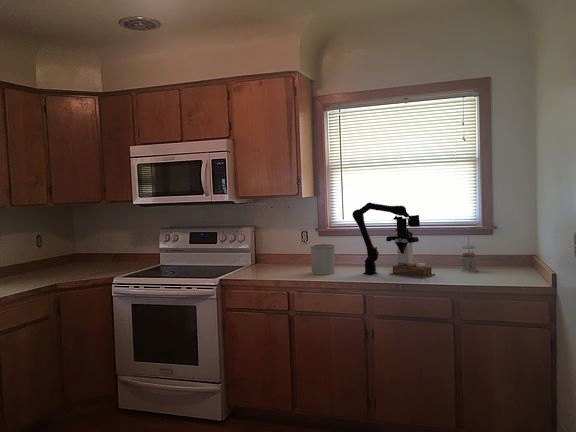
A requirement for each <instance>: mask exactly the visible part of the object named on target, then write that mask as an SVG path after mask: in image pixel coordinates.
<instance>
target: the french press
mask: <svg viewBox="0 0 576 432" xmlns="http://www.w3.org/2000/svg"><path fill="white" fill-rule="evenodd" d="M470 230H471V228H470V227H468V228H466V231H467V234H468V235H467V236H468V237H467V239H468V241H467V242H468V244H464V245H462V246H461V249H465V250H468V252H464V253H462V256H461V265H462V267H461V268H460V271H462V272H467V273H468V272H470V273H471V272H474V273H475V272H478V271H479V270H478V268H477V256H475V255H476V253H474V251H473V250H471V249H476V245H473V244H470V242H469V241H470V240H469V239H470V237H469V233H470V232H469V231H470ZM470 250H471V251H470Z"/></svg>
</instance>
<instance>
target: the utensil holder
mask: <svg viewBox="0 0 576 432" xmlns="http://www.w3.org/2000/svg"><path fill="white" fill-rule="evenodd" d="M310 254H311V255H310V256H311V262H310V263H311V273H312V275H314V276H315V275H317V276H320V275H321V276H328V275H332V274H335V243H325V242H323V243H313V244H312V243H311V245H310Z"/></svg>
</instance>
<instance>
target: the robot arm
mask: <svg viewBox="0 0 576 432" xmlns="http://www.w3.org/2000/svg"><path fill="white" fill-rule="evenodd" d="M369 210H373V211H379V212H380V211H381V212H387V213H391V214H393V215H394V217H393V219H392V220H393V221H396V228H395V232H396V235H388V236H386V240H385V241H386V242H392V241H394V242H393V243H394V244H396V247H397V246H398V248H399V250H400V252H401V254H404V251H405V248H406V246H407V244H408V243H410V242H411V243H412V244H413V243H417V242H418V243H419V242H420V241H419V236H413V235H414V233H413V232H411V231H409V228H408V227H407V226H409V227H410V228H418V227H419V228H420V226H421V224H420V222H421V221H420V215H419V214H417V215H410V214H409V213H408V212H407V208H406V207H405V206H404V205H388V204H387V205H386V204H380V203H374V202H367V203H365V204H364V205H363V206H362V207H360V208H359V209H355V210H353V211H352V218H353V220H354V221H355V222H356V225H357V226H358V227H359V230H360V233H361V236H362V239H363V242H364V244H365V247H366V254H367V257H366V258H365V260H364V272H362V274H365V275H376V274H379V272H378V271H377V264H376V261H377V260H378V258H379V256H380V255H379V254H380V252H379V250H378V247H377V246H375V245H374V244H373V242H372V239H371V236H370V234H369V230H368V228H367V226H366V222H365V217H364V214H366V213H367V212H368V211H369Z"/></svg>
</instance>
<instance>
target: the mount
mask: <svg viewBox="0 0 576 432" xmlns="http://www.w3.org/2000/svg"><path fill="white" fill-rule="evenodd" d="M390 274H391V275H392V276H400V277H407V278H408V277H409V278H410V277H411V278H416V279H427V278H431V277H434V276H436V273H433V271H432V266H429V265H428V266H427V265H426V267H425V268H417V267H407V266H398V264H396V265H392V272H390V273H389V274H388V275H390Z"/></svg>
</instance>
